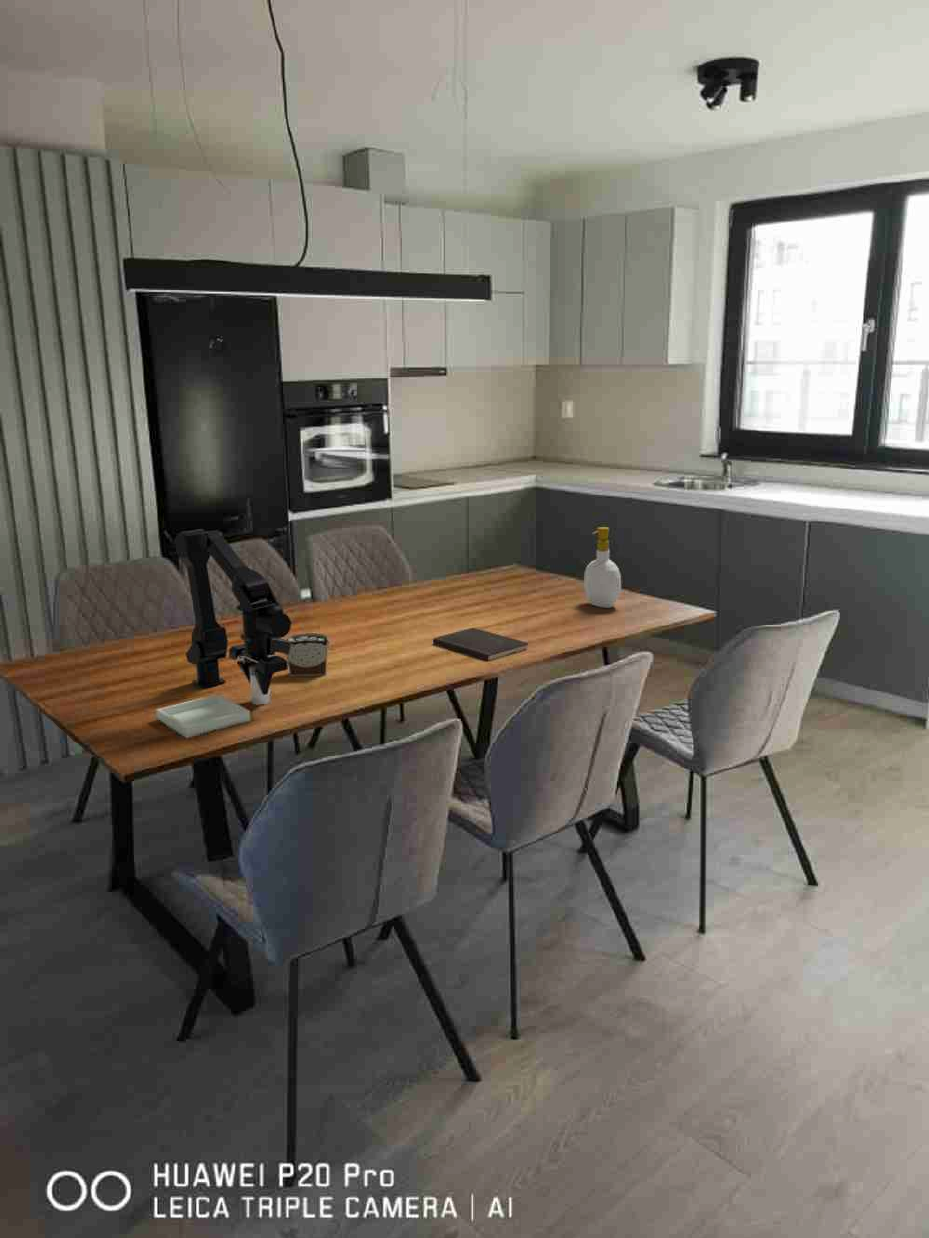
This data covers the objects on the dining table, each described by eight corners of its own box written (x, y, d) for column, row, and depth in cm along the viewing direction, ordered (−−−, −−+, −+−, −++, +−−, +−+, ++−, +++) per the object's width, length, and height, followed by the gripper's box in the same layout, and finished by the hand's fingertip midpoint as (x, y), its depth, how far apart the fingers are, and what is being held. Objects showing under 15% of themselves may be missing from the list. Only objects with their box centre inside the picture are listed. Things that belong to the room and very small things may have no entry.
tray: (157, 719, 224) (156, 709, 224) (219, 703, 234) (218, 693, 233) (186, 738, 213) (185, 727, 212) (250, 720, 222) (249, 710, 222)
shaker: (248, 701, 235) (245, 666, 233) (264, 697, 238) (262, 662, 236) (257, 706, 232) (254, 670, 229) (274, 701, 235) (271, 666, 232)
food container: (333, 667, 260) (331, 631, 257) (331, 674, 254) (329, 638, 251) (287, 668, 260) (285, 633, 257) (284, 676, 254) (282, 639, 251)
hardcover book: (473, 634, 290) (473, 627, 289) (528, 650, 273) (528, 643, 273) (432, 645, 279) (432, 638, 279) (487, 663, 263) (487, 655, 262)
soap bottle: (575, 604, 321) (576, 526, 314) (594, 599, 326) (595, 523, 319) (608, 612, 310) (609, 532, 303) (626, 607, 315) (628, 528, 308)
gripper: (305, 631, 228) (309, 693, 232) (266, 616, 242) (270, 675, 246) (263, 640, 221) (268, 704, 225) (225, 624, 235) (230, 685, 239)
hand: (260, 691), depth 234 cm, fingers closed on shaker, 4 cm apart
